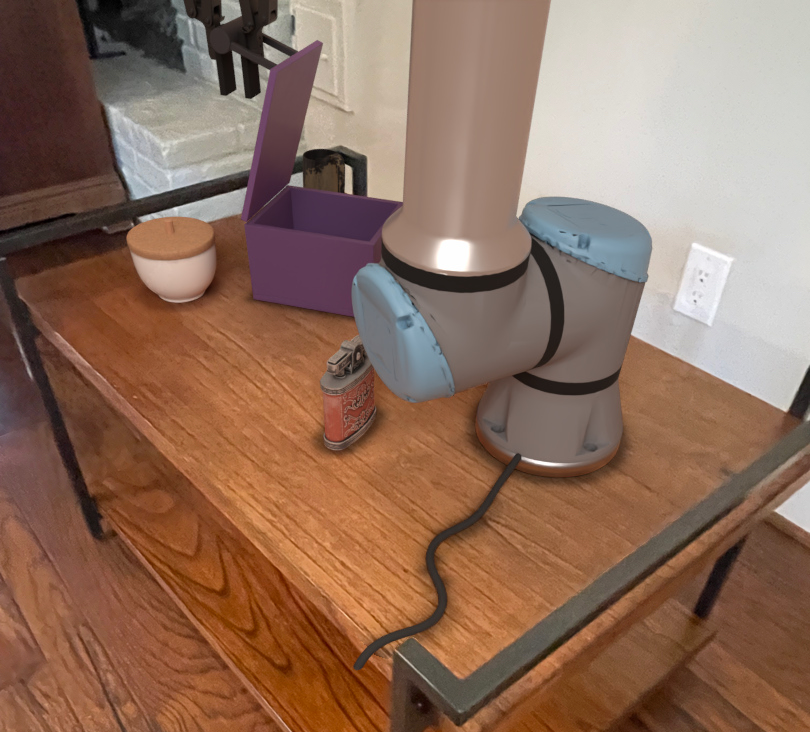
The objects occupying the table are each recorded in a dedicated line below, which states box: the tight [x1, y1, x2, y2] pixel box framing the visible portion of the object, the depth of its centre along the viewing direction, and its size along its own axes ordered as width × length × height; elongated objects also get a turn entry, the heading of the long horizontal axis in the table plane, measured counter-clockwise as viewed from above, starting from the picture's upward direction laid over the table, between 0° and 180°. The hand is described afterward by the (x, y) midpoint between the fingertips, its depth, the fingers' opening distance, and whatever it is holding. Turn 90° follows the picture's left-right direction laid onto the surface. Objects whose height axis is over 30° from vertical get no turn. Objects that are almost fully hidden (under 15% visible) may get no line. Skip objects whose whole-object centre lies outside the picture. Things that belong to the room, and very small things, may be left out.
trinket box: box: [126, 216, 218, 304], centre depth 96 cm, size 11×11×9 cm
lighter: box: [319, 334, 377, 451], centre depth 76 cm, size 8×3×10 cm, turn 152°
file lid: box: [210, 15, 324, 223], centre depth 89 cm, size 17×14×9 cm
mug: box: [302, 148, 346, 194], centre depth 109 cm, size 8×6×12 cm
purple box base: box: [243, 184, 403, 318], centre depth 98 cm, size 17×14×10 cm
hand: (240, 93), depth 88 cm, fingers closed on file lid, 2 cm apart
